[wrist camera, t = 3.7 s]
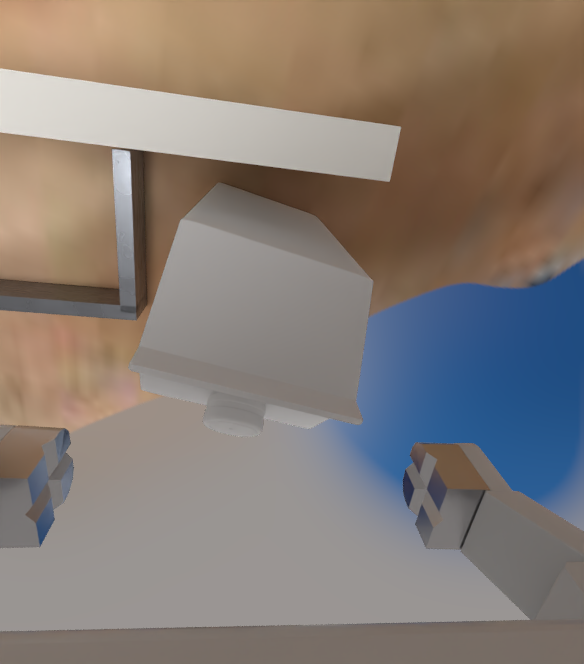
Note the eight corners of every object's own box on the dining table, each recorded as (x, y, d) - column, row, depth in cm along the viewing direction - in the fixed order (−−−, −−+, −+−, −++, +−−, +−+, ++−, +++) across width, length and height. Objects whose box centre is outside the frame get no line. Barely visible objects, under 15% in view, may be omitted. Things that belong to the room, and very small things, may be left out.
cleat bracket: (143, 150, 26) (130, 151, 23) (147, 304, 30) (136, 320, 27) (-83, 122, 24) (-125, 119, 22) (-45, 288, 29) (-76, 304, 26)
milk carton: (218, 180, 27) (154, 243, 10) (317, 215, 29) (412, 322, 11) (192, 279, 30) (107, 464, 12) (285, 306, 31) (322, 504, 14)
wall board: (341, 134, 26) (401, 126, 16) (336, 167, 27) (389, 181, 16) (-103, 71, 23) (-417, 7, 12) (-94, 111, 24) (-381, 83, 13)
